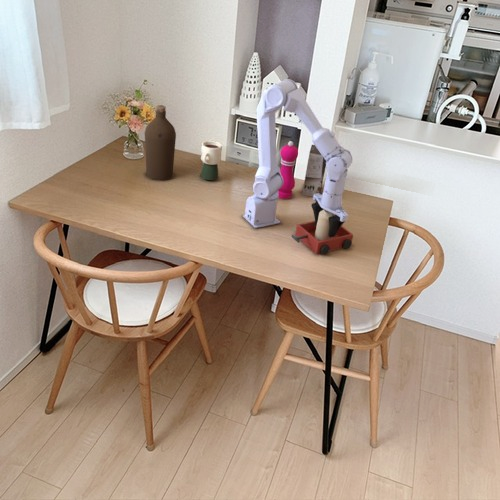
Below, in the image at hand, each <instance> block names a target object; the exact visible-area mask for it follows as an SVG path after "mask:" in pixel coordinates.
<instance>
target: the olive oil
mask: <svg viewBox="0 0 500 500" xmlns="http://www.w3.org/2000/svg"><path fill="white" fill-rule="evenodd" d="M166 110H167V109H166V106H165V105H162V104H159V105H156V106H155V117H154V118H153V119H152V120H151V121H149V123H148V124H147V125H146V127H145V130H144V145H145V146H144V148H145V170H146V176H147V177H148V178H149V179H151V180H154V181H167V180H170V179H172V177H173V176H174V164H175V151H176V140H177V139H176V138H177V132H176V129H175V126H174V125H173V123H171V122H170V121H169V120H168V118H167V117H166V116H167V115H166V114H167V111H166Z"/></svg>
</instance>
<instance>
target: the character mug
mask: <svg viewBox="0 0 500 500" xmlns="http://www.w3.org/2000/svg"><path fill="white" fill-rule="evenodd" d="M200 150H201V156H200V160H201V162H202V163H203V164H202V169H201V173H200V178H201V179H204V180H207V181H216V180H218V179H219V164H221V161H222V152H223V145H222V143H220V142H218V141H213V140H205V141H203V142H202V143H201V149H200Z"/></svg>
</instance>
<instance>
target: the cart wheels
mask: <svg viewBox="0 0 500 500" xmlns="http://www.w3.org/2000/svg"><path fill="white" fill-rule="evenodd" d="M291 238H292V239H293V240H294V241H295V242H297V243H298V244H299V243H300V242H301V240H300V239H303V238H308V235H304V236H300V237H296V236H295V234H291ZM352 244H353V241H352V242H351V241H350V240H349V239H347V240H345V241H344V242H343V244H342V247H343V249H344V250H349V248H351V246H352ZM329 250H330V247H329V246H328V245H326V244H325V245H323V246H322V247H321V249H320V252H321V253H320V254H322V255H327V254H328V253H329V252H330V251H329Z"/></svg>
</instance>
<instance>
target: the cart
mask: <svg viewBox="0 0 500 500" xmlns="http://www.w3.org/2000/svg"><path fill="white" fill-rule="evenodd" d="M316 227H317V226H315V220H312V221H307V222H303V223H298V224H296V230H295V234H294V236H295V237H300V236H304V235H308V238H303V239H299V240H300V242H302V243H303V244H304V245H305V246H306V247H308V248H309V249H310V250H311V251H312V252H313V253H314V254H316V255H318V254H322V253H321V252H320V249H321V247H322V246H323V245H325V244H326V245H328V246H329V247H330V250H329V252H331V251H334V250H338V249H342V248H343V247H342V244H343V242H344V241H345V240H347V239H349V240H350V241H351V242H352V243H353V239H354V238H353V237H354V234H353V233H352V232H351V231H350V230H348V229H347V228H346V227H345V226H343V225H342V226H341V227H340V228H339V230H338V231H337V233H336V235H335V237H333V238H332V239H328V240H323V241H318V240H317V239H316V238H315V232H316ZM343 249H344V248H343Z"/></svg>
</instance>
